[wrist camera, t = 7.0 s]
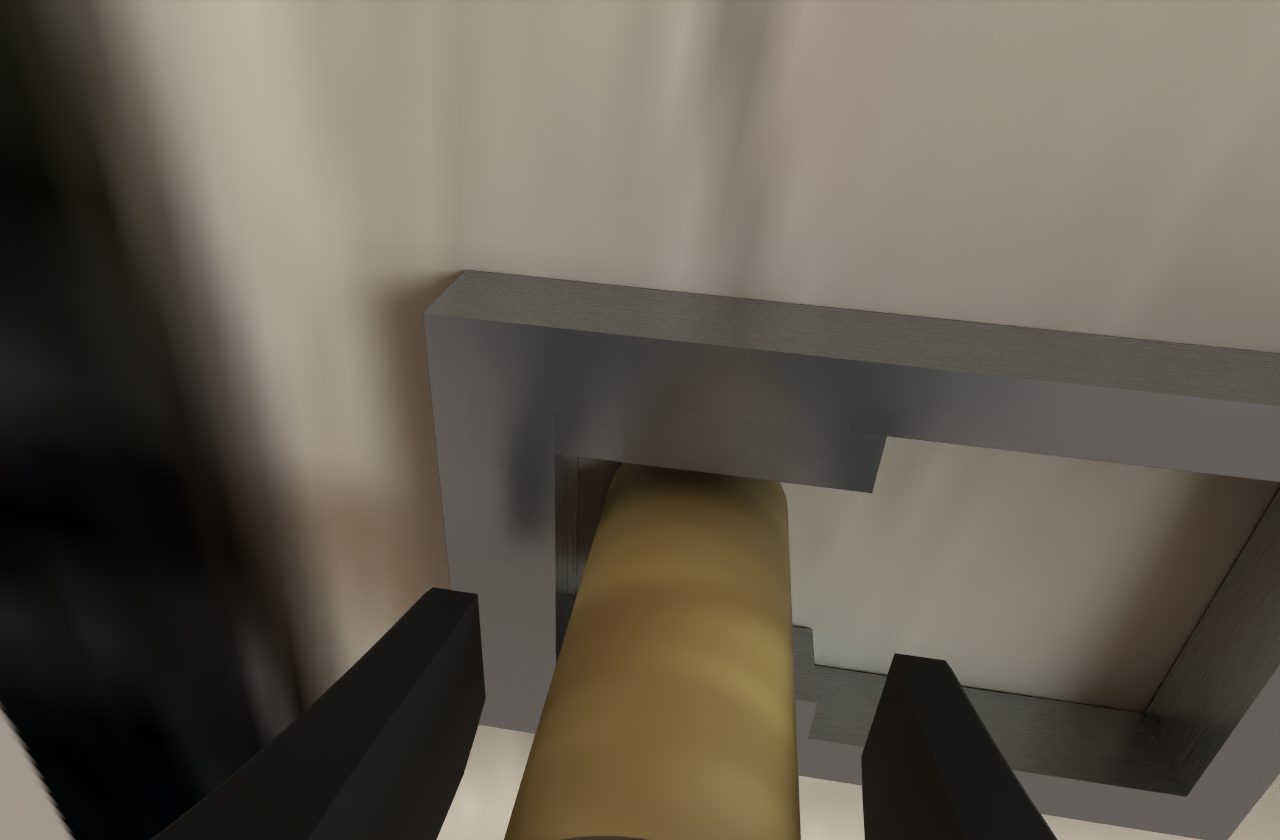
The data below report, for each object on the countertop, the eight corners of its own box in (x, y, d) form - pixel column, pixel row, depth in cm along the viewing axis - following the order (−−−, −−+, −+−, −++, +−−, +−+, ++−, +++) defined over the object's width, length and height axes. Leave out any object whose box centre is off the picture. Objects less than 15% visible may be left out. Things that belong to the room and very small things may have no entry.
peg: (806, 452, 12) (861, 1108, 5) (767, 593, 13) (768, 1237, 7) (616, 420, 12) (423, 1009, 5) (599, 562, 14) (434, 1159, 7)
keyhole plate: (1439, 370, 10) (1545, 435, 9) (1180, 757, 14) (1224, 843, 13) (464, 270, 11) (422, 312, 10) (491, 654, 15) (463, 722, 14)
